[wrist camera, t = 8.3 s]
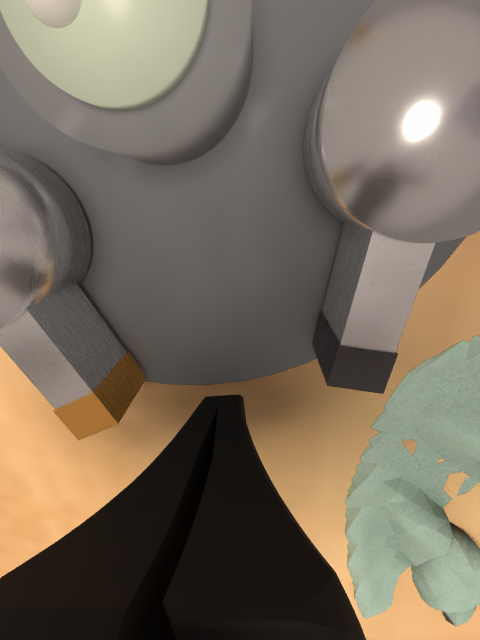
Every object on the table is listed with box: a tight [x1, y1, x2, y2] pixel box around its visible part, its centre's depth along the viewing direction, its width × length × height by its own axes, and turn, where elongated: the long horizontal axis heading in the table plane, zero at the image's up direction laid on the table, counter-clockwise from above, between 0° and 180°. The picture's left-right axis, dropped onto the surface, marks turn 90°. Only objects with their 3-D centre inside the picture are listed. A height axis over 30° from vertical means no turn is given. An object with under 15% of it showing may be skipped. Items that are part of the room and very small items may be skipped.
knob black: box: [303, 0, 480, 394], centre depth 8 cm, size 8×5×3 cm, turn 172°
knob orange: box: [0, 149, 147, 440], centre depth 9 cm, size 8×5×3 cm, turn 27°
